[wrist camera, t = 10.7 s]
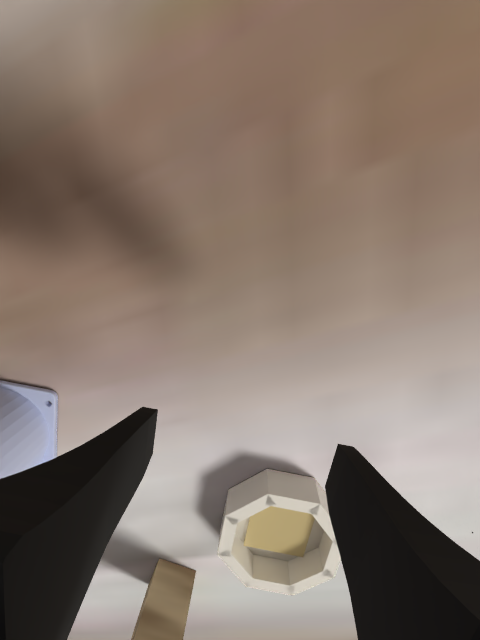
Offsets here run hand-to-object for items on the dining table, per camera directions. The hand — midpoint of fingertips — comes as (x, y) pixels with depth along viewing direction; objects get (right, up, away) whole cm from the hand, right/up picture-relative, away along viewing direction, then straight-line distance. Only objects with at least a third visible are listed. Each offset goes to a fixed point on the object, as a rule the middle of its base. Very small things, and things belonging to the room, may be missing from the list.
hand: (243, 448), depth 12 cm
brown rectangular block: (-6, -19, +16) cm, 25 cm away
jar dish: (+3, -12, +14) cm, 18 cm away
